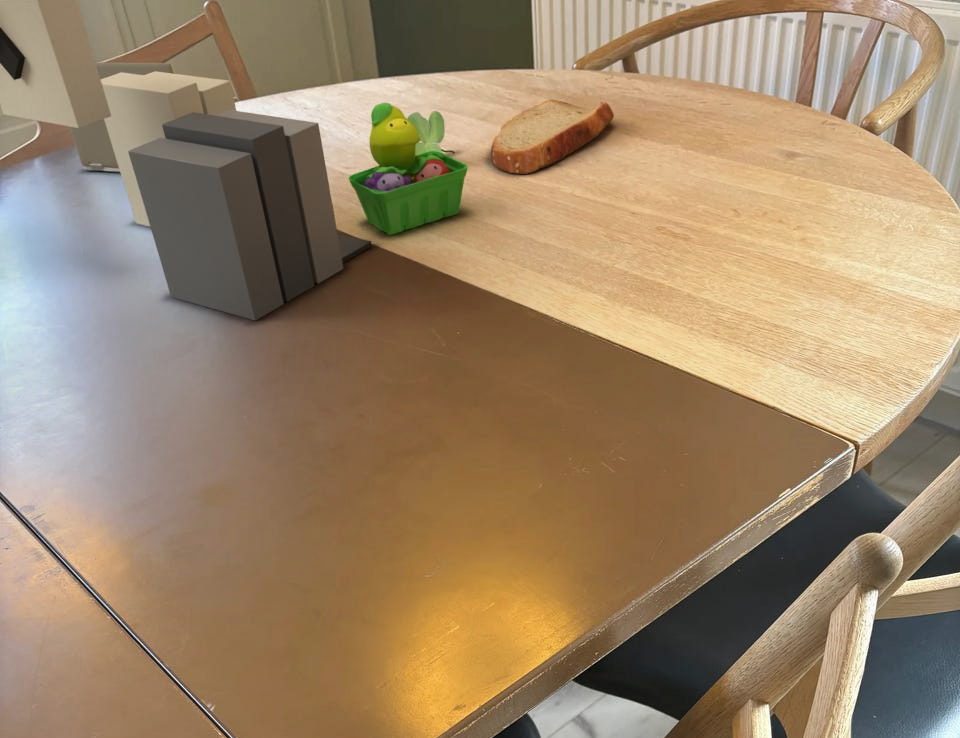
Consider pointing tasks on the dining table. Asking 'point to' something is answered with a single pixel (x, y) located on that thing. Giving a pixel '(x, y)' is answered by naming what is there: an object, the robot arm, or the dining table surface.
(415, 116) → the seedling
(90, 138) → the laptop
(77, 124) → the white book
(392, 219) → the fruit basket
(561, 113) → the bread slice
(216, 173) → the grey books
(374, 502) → the dining table surface
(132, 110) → the white books
